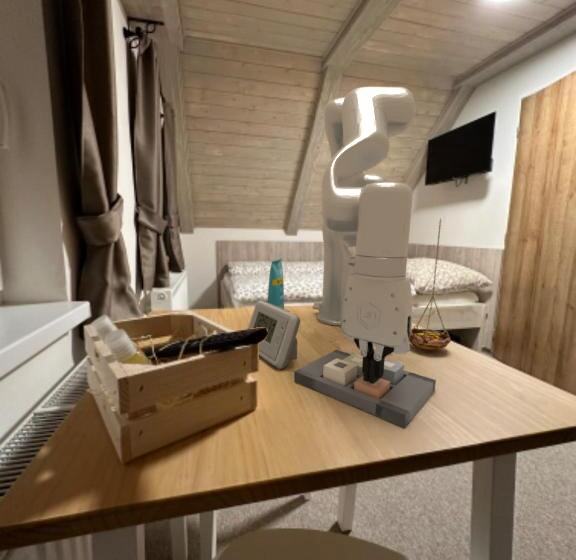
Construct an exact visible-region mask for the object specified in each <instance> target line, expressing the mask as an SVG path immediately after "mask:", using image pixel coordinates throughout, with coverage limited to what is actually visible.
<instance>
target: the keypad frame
mask: <svg viewBox="0 0 576 560" xmlns="http://www.w3.org/2000/svg"><path fill="white" fill-rule="evenodd" d="M352 354H353V353H352ZM352 354H351V353H349V352H345V351H341V350H339V349H335V350H333V351H330V352H329V353H327V354H325V355H323V356H321V357H319V358H317V359H315V360H313V361H312V362H310V363H308V364H305V365H303V366H302V367H299V368H298V369H296V370H294V373H293V378H294V379H293V382H295V383H297V384H299V385H301V386H304V387H306V388H308V389H310V390H313V391H316V392H318V393H320V394H322V395H325V396H327V397H329V398H331V399H334V400H337V401H340V402H341V403H344V404H346V405H348V406H351V407H353V408H355V409H358V410H360V411H363V412H365V413H367V414H370V415H373V416H374V417H377V418H380V419H381V420H384V421H387V422H389V423H391V424H394V425H395V426H399V427H401V428H403V429H406V428H407V426H408V425H409V424H410V422H412V420H413V419H414V417H415V416H416V415H417V414H418V413H419V412H420V410H421V409H422V407H423V406H424V405H425V404H426V402H427V401H428V400H429V399H430V397H432V395H433V393H434V392H435V391H436V383H437V380H436V379H433V378H431V377H428V376H424V375H420V374H417V373H413V372H411V371H407V370H405V369H404V375H403V378H402V379H401V380H400V381H399V382H398V383H397V384H396V385H393V384H390V390H389V392H388V393H387V394H386V395H385V396H384V397H383V398H382V399H381V400H380V399H377V398H374V397H372V396H369V395H367V394H364V393H361V392H359V391H356V390H354V382H355V381H357V380H358V379H360V378H361V377H362V376H364V374H361V373H358V372H357V378H356V379H355V380H354V381H352V382H351V383H349V384H348V385H347V386H343V385H340V384H338V383H335V382H333V381H330V380H327V379H325V378H323V370H324V365H325V364H327V363H329V362H331V361H333V360H334V359H336V358H337V359H341V360H343V359H345V358H347V357H348V356H350V355H352Z"/></svg>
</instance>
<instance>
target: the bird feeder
mask: <svg viewBox="0 0 576 560" xmlns="http://www.w3.org/2000/svg"><path fill="white" fill-rule="evenodd" d="M441 226H442V218H441V217H440V220H439V223H438V232H437V233H438V235H437V245H436V255H435V262H434V263H435V264H434V272H433V273H434V274H433V283H432V285H433V286H432V287H433V288H432V290H431V292H432V293H431V294H432V295H431V298H430V299H429V302H428V304H427V305H426V307H425V309H424V311H423V313H422V315H421V317H420V319H419V320H418V322H417V324H416V325H414V326H413V328H412V330H411V336H410V338H409V344H411V345H412V346H414V347H415V348H418V349H420V350H424V351H440V350H442V349H444V348H446V347H447V346H448V345H449V344H450V343H451V336H450V334H449V332H448V330H446V328H445V325H444V323H443V319H442V318H441V317H442V316H441V314H440V312H439V311H440V310H439V308H438V305H437V303H436V299H435V296H434V294H435V293H434V292H435V285H436V278H437V276H436V275H437V267H438V266H437V264H438V256H439V246H440V245H439V244H440V234H441V228H442V227H441ZM433 303H434V307H435V308H436V312H437V314H438V318H439V320H440V323H441V325H442V329H443V332H441V331H439V330H438V331H437V330H434V329H430V328H429V326H430V319H431V315H432V314H431V313H432V309H433V308H432V307H433ZM428 308H429V311H428V312H429V313H428V319H427V324H426V328H419V324H420V323H421V322H422V321H421V320H422V319H423V317H424V315H425V313H426V312H427V309H428Z"/></svg>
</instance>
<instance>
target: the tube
mask: <svg viewBox="0 0 576 560" xmlns="http://www.w3.org/2000/svg"><path fill="white" fill-rule="evenodd" d="M282 262H283V261H282V258H279V259H276V260H273V261H271V264H270V270H269V276H268V277H269V278H268V289H267V290H268V291H267V302H266V303H268V304H269V303H270V304H273V305H275V306H278V307H280V308H282V309H285V293H284V292H285V291H284V286H285V285H284V284H285V283H284V273H283V272H284V271H283V270H284V269H283V263H282Z"/></svg>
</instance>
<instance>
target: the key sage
mask: <svg viewBox="0 0 576 560" xmlns="http://www.w3.org/2000/svg"><path fill="white" fill-rule="evenodd" d="M343 360H344V361H347V362H350V363H353V364H356V365H357V372H358V373H361V374H364V373H363V372H362V364H363V356H361V355H357V354H353V353H352V355H350V356H348V357H347V358H345V359H343Z"/></svg>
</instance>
